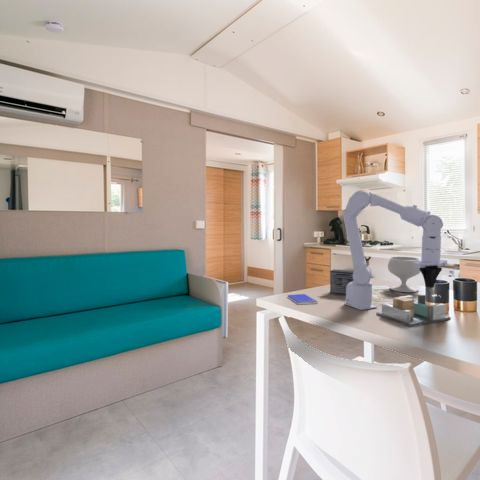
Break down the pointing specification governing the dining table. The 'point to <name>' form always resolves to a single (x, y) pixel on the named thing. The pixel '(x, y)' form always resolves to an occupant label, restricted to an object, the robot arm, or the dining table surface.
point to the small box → (340, 281)
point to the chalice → (403, 272)
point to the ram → (421, 306)
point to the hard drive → (302, 299)
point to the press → (404, 315)
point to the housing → (404, 304)
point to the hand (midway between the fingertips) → (429, 287)
